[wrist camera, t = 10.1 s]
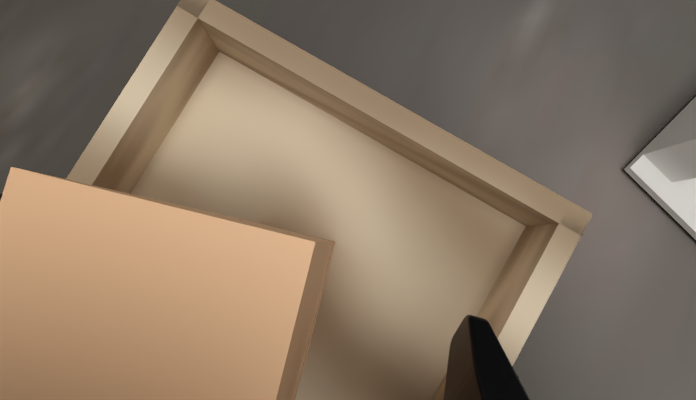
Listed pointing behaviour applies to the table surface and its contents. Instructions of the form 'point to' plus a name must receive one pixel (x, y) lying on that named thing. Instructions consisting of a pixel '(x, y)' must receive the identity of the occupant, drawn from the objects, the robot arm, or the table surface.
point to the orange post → (149, 297)
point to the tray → (339, 198)
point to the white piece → (671, 168)
